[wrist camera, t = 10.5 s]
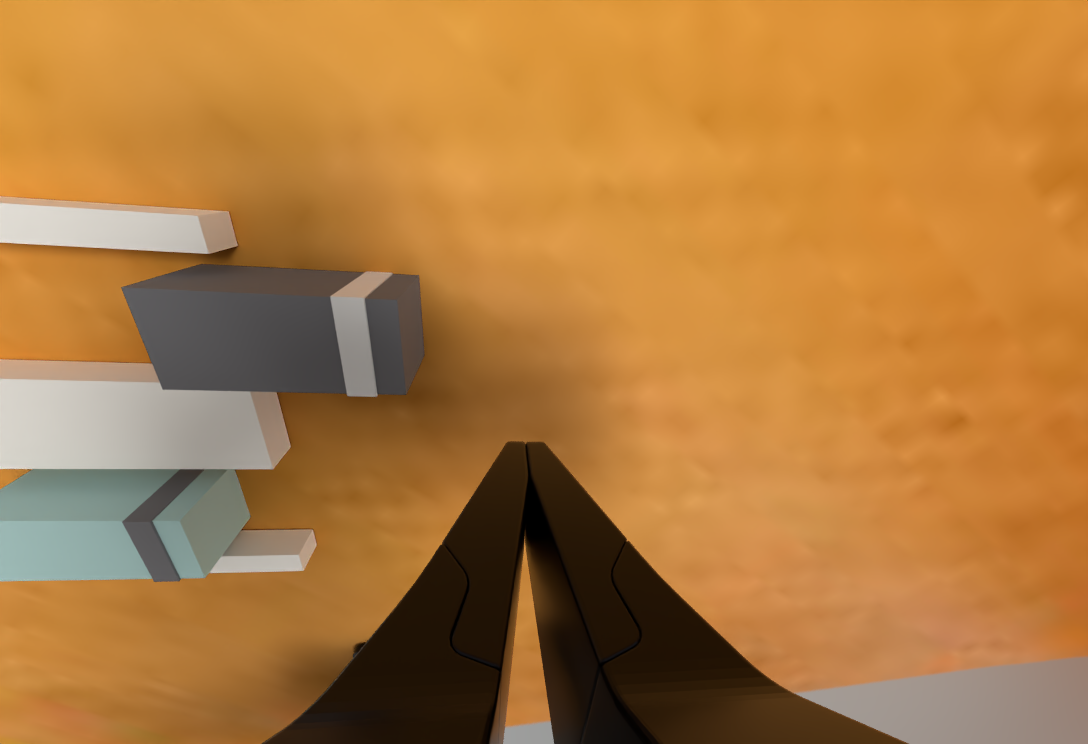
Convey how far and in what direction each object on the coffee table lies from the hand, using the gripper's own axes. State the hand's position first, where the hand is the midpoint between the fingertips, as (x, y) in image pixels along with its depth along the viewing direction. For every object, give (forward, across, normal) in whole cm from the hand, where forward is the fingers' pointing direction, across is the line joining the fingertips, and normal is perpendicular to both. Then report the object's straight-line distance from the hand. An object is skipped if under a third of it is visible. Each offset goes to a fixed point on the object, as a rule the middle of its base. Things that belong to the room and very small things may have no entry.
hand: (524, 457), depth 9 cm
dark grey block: (+9, +8, 0) cm, 12 cm away
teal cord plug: (+9, +17, +9) cm, 22 cm away
